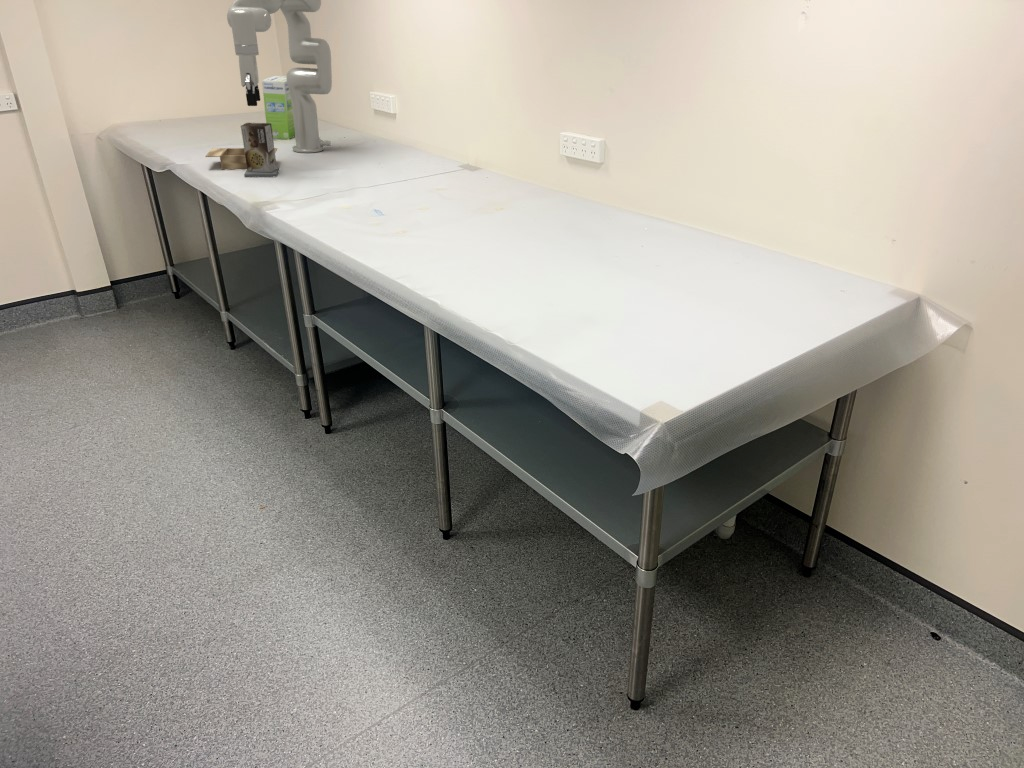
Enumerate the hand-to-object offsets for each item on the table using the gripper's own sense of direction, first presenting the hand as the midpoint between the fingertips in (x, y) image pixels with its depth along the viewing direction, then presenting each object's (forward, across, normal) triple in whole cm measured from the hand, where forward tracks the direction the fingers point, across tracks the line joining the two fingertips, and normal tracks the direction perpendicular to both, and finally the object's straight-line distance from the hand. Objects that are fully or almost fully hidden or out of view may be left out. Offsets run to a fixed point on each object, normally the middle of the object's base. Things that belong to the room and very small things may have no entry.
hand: (254, 103), depth 261 cm
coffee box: (+23, +1, 0) cm, 23 cm away
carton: (+24, -12, -8) cm, 28 cm away
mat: (+24, +1, 0) cm, 24 cm away
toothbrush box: (+26, -72, +2) cm, 76 cm away
